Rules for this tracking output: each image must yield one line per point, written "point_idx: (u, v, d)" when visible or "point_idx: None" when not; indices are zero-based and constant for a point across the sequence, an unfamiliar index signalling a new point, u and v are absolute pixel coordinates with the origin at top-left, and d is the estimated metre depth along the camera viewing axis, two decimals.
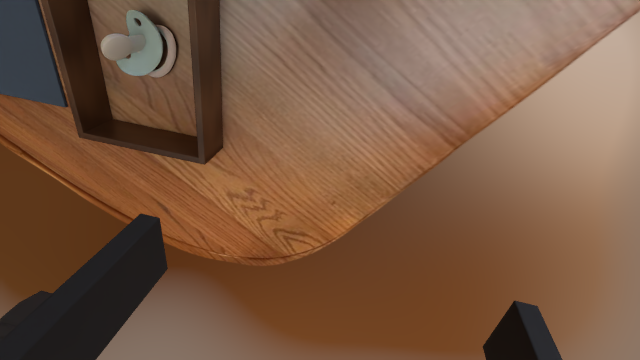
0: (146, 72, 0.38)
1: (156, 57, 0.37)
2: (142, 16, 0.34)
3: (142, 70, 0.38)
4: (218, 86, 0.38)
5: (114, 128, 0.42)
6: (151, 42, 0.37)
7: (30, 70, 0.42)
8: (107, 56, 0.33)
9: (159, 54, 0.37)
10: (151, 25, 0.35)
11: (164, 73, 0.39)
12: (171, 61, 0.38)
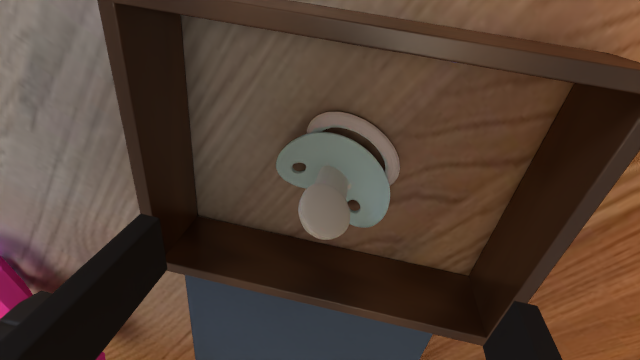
0: (385, 182, 0.19)
1: (360, 154, 0.19)
2: (285, 153, 0.19)
3: (381, 188, 0.20)
4: (434, 25, 0.16)
5: (488, 281, 0.21)
6: (333, 155, 0.20)
7: (373, 344, 0.29)
8: (335, 233, 0.17)
9: (354, 146, 0.19)
10: (300, 142, 0.19)
11: (393, 150, 0.19)
12: (369, 128, 0.19)
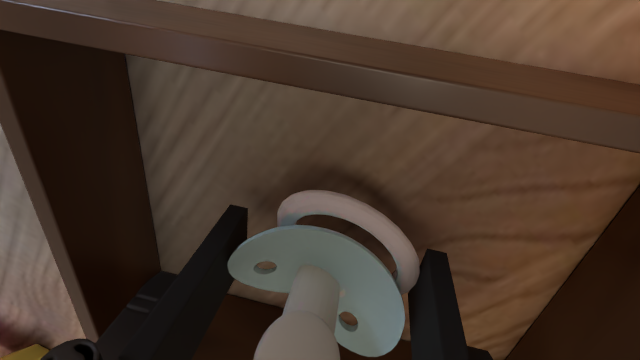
0: (397, 299, 0.12)
1: (359, 256, 0.12)
2: (240, 254, 0.12)
3: (391, 306, 0.13)
4: (473, 58, 0.11)
5: None
6: (317, 254, 0.13)
7: None
8: None
9: (349, 246, 0.12)
10: (263, 240, 0.12)
11: (410, 250, 0.12)
12: (374, 218, 0.12)
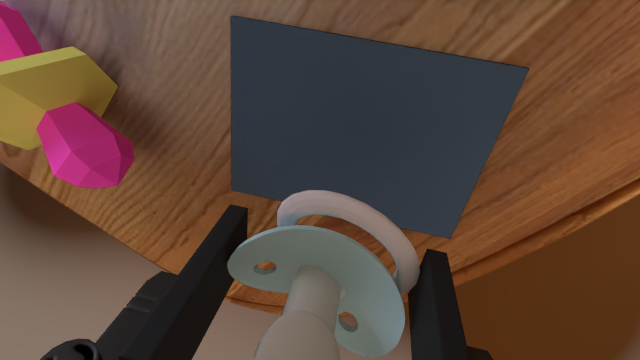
0: (398, 300, 0.12)
1: (359, 256, 0.12)
2: (240, 254, 0.12)
3: (391, 307, 0.13)
4: None
5: None
6: (317, 254, 0.13)
7: (449, 107, 0.25)
8: None
9: (349, 246, 0.12)
10: (263, 240, 0.12)
11: (410, 251, 0.12)
12: (374, 218, 0.12)
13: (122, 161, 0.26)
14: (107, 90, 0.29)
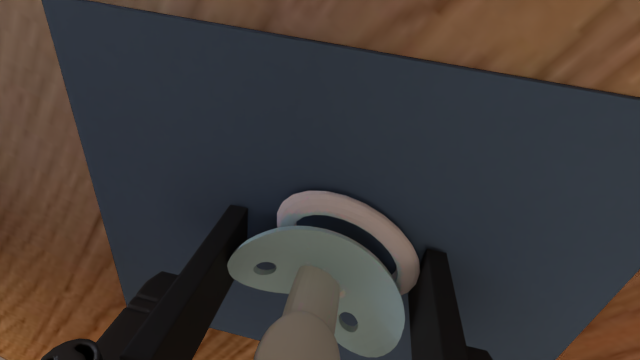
0: (398, 300, 0.12)
1: (359, 256, 0.12)
2: (240, 255, 0.12)
3: (391, 306, 0.13)
4: None
5: None
6: (317, 254, 0.13)
7: (543, 201, 0.11)
8: None
9: (349, 246, 0.12)
10: (263, 241, 0.12)
11: (410, 251, 0.12)
12: (374, 218, 0.12)
13: None
14: None
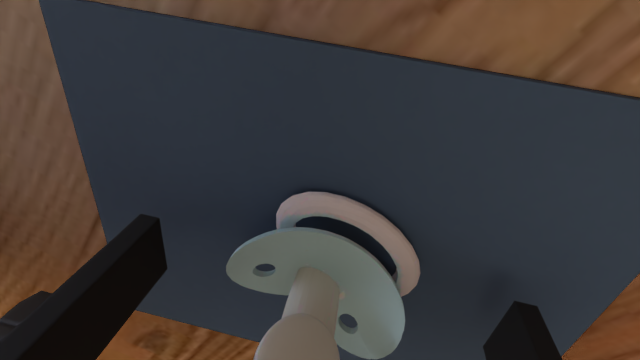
0: (398, 302, 0.12)
1: (359, 258, 0.12)
2: (239, 257, 0.12)
3: (391, 308, 0.12)
4: None
5: None
6: (317, 256, 0.13)
7: (544, 202, 0.11)
8: None
9: (349, 248, 0.12)
10: (262, 242, 0.12)
11: (410, 252, 0.12)
12: (374, 220, 0.12)
13: None
14: None
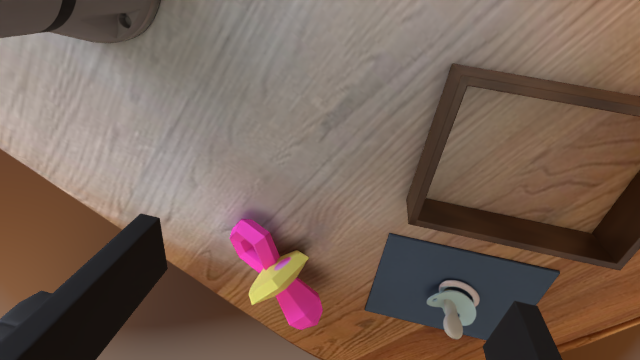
0: (474, 309, 0.45)
1: (464, 297, 0.45)
2: (432, 297, 0.45)
3: (472, 311, 0.45)
4: (607, 91, 0.30)
5: (614, 232, 0.35)
6: (451, 296, 0.45)
7: (513, 284, 0.44)
8: (460, 336, 0.42)
9: (462, 295, 0.45)
10: (440, 294, 0.44)
11: (477, 296, 0.45)
12: (469, 288, 0.45)
13: (321, 311, 0.45)
14: None
